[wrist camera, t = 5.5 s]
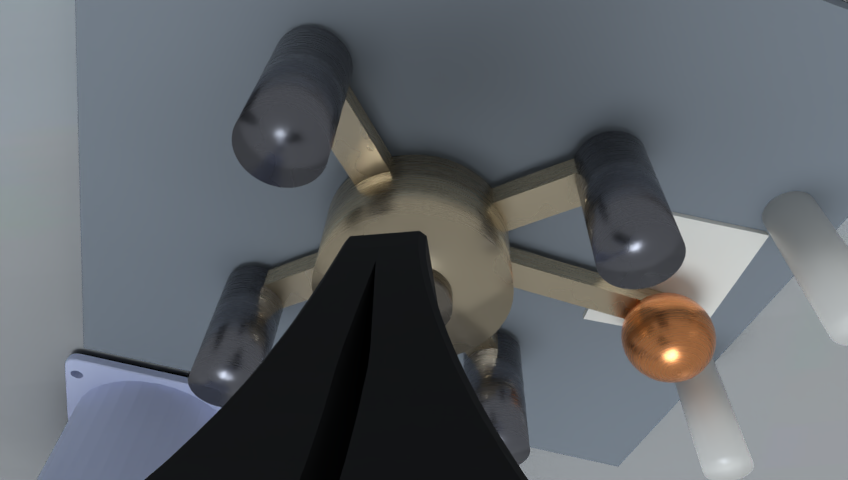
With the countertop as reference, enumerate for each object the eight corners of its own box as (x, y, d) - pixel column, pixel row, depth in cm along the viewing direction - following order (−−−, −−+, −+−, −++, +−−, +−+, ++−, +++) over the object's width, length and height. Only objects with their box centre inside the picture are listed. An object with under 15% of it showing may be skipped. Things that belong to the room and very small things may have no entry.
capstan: (707, 317, 24) (748, 418, 21) (341, 416, 29) (325, 513, 25) (574, -110, 15) (607, -56, 12) (82, 133, 20) (6, 221, 17)
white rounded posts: (694, 370, 26) (735, 485, 22) (556, 334, 25) (574, 449, 21) (843, 204, 21) (930, 318, 17) (676, 152, 20) (728, 260, 16)
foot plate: (614, 447, 32) (618, 466, 31) (94, 329, 28) (83, 347, 27) (968, 47, 19) (990, 62, 18) (88, -278, 15) (68, -277, 14)
